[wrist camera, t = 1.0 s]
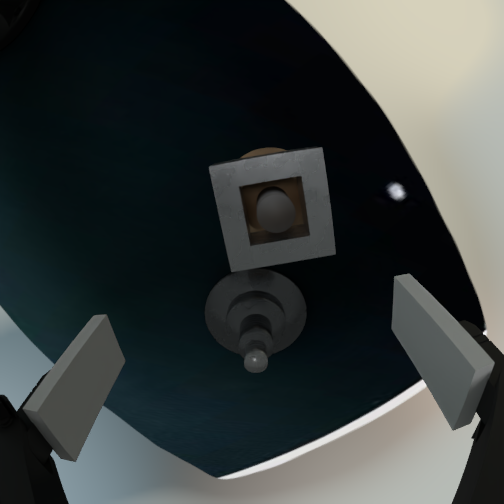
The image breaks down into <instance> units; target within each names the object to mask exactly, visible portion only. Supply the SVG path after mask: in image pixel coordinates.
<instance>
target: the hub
mask: <svg viewBox="0 0 504 504" xmlns="http://www.w3.org/2000/svg"><path fill="white" fill-rule="evenodd" d="M306 315H307V311H306V304H305V300H304V297H303V294H302V292H301V291H300V289H299V288H298V286H297V285H296V284H295V283H294V282H293V281H292V280H291V279H290V278H288V277H287V276H286V275H284V274H282V273H280V272H278V271H275V270H272V269H269V268H262V267H259V268H253V269H247V270H241V271H235V272H231V273H230V274H228V275H226V276H225V277H223V278H222V279H221V280H219V281H218V282H217V283H216V284H215V286H214V287H213V288H212V290H211V292H210V293H209V296H208V298H207V301H206V306H205V320H206V324H207V327H208V329H209V331H210V333H211V334H212V336H213V337H214V338H215V339H216V340H217V341H218V343H220V344H221V345H222V346H223V347H225V348H227V349H228V350H230V351H232V352H235V353H238V354H240V355H241V356H242V357H243V358H244V366H245V368H246V369H247V370H248V371H250V372H253V373H259V372H262V371H264V370H265V369H266V368H267V366H268V359H267V358H269V357H270V356H271V354H273V353H276V352H279V351H281V350H283V349H284V348H286V347H288V346H289V345H290V344H292V343H293V342H294V341H295V340H296V339H297V337H298V336H299V335H300V333H301V331H302V330H303V327H304V325H305V321H306Z"/></svg>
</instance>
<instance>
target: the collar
mask: <svg viewBox="0 0 504 504" xmlns="http://www.w3.org/2000/svg"><path fill="white" fill-rule="evenodd" d="M209 170H210V175H211V180H212V185H213V189H214V194H215V199H216V204H217V208H218V213H219V218H220V222H221V227H222V232H223V236H224V241H225V245H226V250H227V254H228V259H229V263H230V268H231V272H235V271H241V270H247V269H253V268H259V267H265V266H271V265H277V264H283V263H289V262H294V261H300V260H306V259H312V258H317V257H323V256H329V255H334V254H336V251H335V241H334V231H333V222H332V214H331V206H330V198H329V190H328V183H327V176H326V169H325V162H324V156H323V150H322V147H308V148H301V149H294V150H287V151H281V152H275V153H269V154H263V155H257V156H252V157H246V158H241V159H235V160H230V161H225V162H220V163H215V164H213V165H211V166H209ZM290 177H296V180H297V186H298V192H299V199H300V205H301V212H302V219H303V224H299V225H293V226H291V227H290V228H289V229H287V230H286V231H283V232H280V233H272V232H269V231H267V230H263V231H258V232H252V233H251V231H250V226H249V220H248V215H247V210H246V205H245V200H244V195H243V189H242V186H244V185H249V184H255V183H261V182H266V181H272V180H278V179H284V178H290Z"/></svg>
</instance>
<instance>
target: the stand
mask: <svg viewBox="0 0 504 504" xmlns="http://www.w3.org/2000/svg"><path fill="white" fill-rule="evenodd" d="M281 151H287V150H283V149H279V148H261V149H257V150H254V151H251V152H249V153H247V154H246V155H244V156H242V157H241V158H246V157H252V156H257V155H263V154H269V153H275V152H281ZM241 158H240V159H241ZM242 189H243V195H244V200H245V205H246V210H247V215H248V220H249V226H250V231H251V233H252V232H258V231H263V230H267V231H269V232H272V233H280V232H283V231H286V230H287V229H289V228H290V227H291V226H293V225H299V224H303V219H302V212H301V205H300V199H299V192H298V186H297V180H296V177H290V178H284V179H278V180H272V181H266V182H261V183H255V184H249V185H244V186H242Z"/></svg>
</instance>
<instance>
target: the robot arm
mask: <svg viewBox="0 0 504 504" xmlns="http://www.w3.org/2000/svg"><path fill="white" fill-rule="evenodd" d="M39 2H40V0H0V50H1V49H3V48H4V47H6V46H7V45H8V44H9V43H11V42H12V41H13V40H14V39H15V38H16V37H17V36H18V34H19V33H20V32H21V31H22V30H23V28H24V27H25V26H26V25H27V23H28V22H29V20H30V19H31V17H32V16H33V14H34V12H35V10H36V8H37V6H38V4H39ZM392 330H393V332H394V334H395V335H396V337H397V338H398V340H399V341H400V343H401V344H402V346H403V348H404V349H405V351H406V352H407V354H408V355H409V357H410V359H411V360H412V362H413V364H414V365H415V367H416V368H417V370H418V372H419V373H420V375H421V377H422V378H423V380H424V382H425V383H426V385H427V387H428V388H429V390H430V392H431V393H432V395H433V397H434V398H435V400H436V402H437V404H438V405H439V407H440V409H441V411H442V412H443V414H444V416H445V418H446V419H447V421H448V423H449V425H450V426H451V428H452V430H456V429H458V428H461V427H463V426H465V425H468V424H470V423H471V422H472V419H473V417H474V415H475V413H476V412H477V414H478V415H479V417H480V418H481V420H480V422H479V424H478V426H477V428H476V430H475V432H474V434H473V436H472V438H473V439H474V441H473V445H472V449H471V452H470V455H469V458H468V461H467V464H466V467H465V470H464V473H463V476H462V479H461V481H460V484H459V487H458V489H457V492H456V494H455V497H454V499H453V502H452V504H504V355H503V354H502V352H501V351H500V350H499V349H498V348H497V347H496V346H495V345H494V344H493V343H492V342H491V341H489V339H488V338H487V337H486V336H485V335H483V333H482V332H481V330H480V329H479V328H478V327H477V326H476V325H474V324H472V323H470V322H468V321H466V320H463V321H460V322H457V321H456V320H455V319H454V317H453V316H452V315H451V314H450V313H449V312H448V311H447V310H446V309H445V308H444V307H443V306H442V305H441V304H440V303H439V302H438V301H437V300H436V299H435V298H434V297H433V296H432V295H431V294H430V293H429V292H428V291H427V290H426V289H425V288H424V287H423V286H422V285H421V284H420V283H419V282H418V281H417V280H416V279H414V278H413V277H412V276H411V275H410V274H405V275H399V276H394V297H393V315H392ZM124 363H125V359H124V356H123V354H122V352H121V349H120V347H119V344H118V342H117V340H116V337H115V335H114V332H113V330H112V327H111V325H110V322H109V319H108V317H107V314H106V315H94V316H93V317H92V318H91V319H90V321H89V322H88V323H87V324H86V325H85V327H84V328H83V329H82V330H81V332H80V333H79V334H78V335H77V337H76V338H75V339H74V340H73V342H72V343H71V344H70V345H69V347H68V348H67V349H66V351H65V352H64V353H63V354H62V356H61V357H60V358H59V360H58V361H57V362H56V363H55V365H54V366H53V367H52V369H51V370H50V371H48V372H47V373H46V374H45V375H43V376H42V378H41V379H40V380H39V382H38V383H37V386H35V387H34V388H33V390H32V392H30V394H29V395H28V397H27V398H26V399H25V401H24V402H23V403H22V405H21V406H20V408H19V409H18V411H17V412H16V410H15V409H14V407H13V406H12V404H11V403H10V401H9V400H8V398H7V397H6V396H5V395H0V504H69V503H68V501H67V498H66V495H65V493H64V490H63V487H62V484H61V481H60V478H59V475H58V472H57V468H56V465H55V462H54V460H53V458H52V457H51V455H50V454H51V452H52V450H54V451H55V452H56V454H58V456H59V457H60V458H61V459H65V460H69V461H74V462H76V460H77V458H78V456H79V454H80V451H81V449H82V447H83V445H84V443H85V441H86V439H87V437H88V434H89V432H90V430H91V428H92V426H93V424H94V422H95V420H96V418H97V416H98V414H99V412H100V410H101V408H102V406H103V404H104V402H105V400H106V398H107V396H108V394H109V392H110V390H111V388H112V386H113V384H114V382H115V380H116V378H117V376H118V374H119V372H120V371H121V369H122V367H123V365H124Z"/></svg>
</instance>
